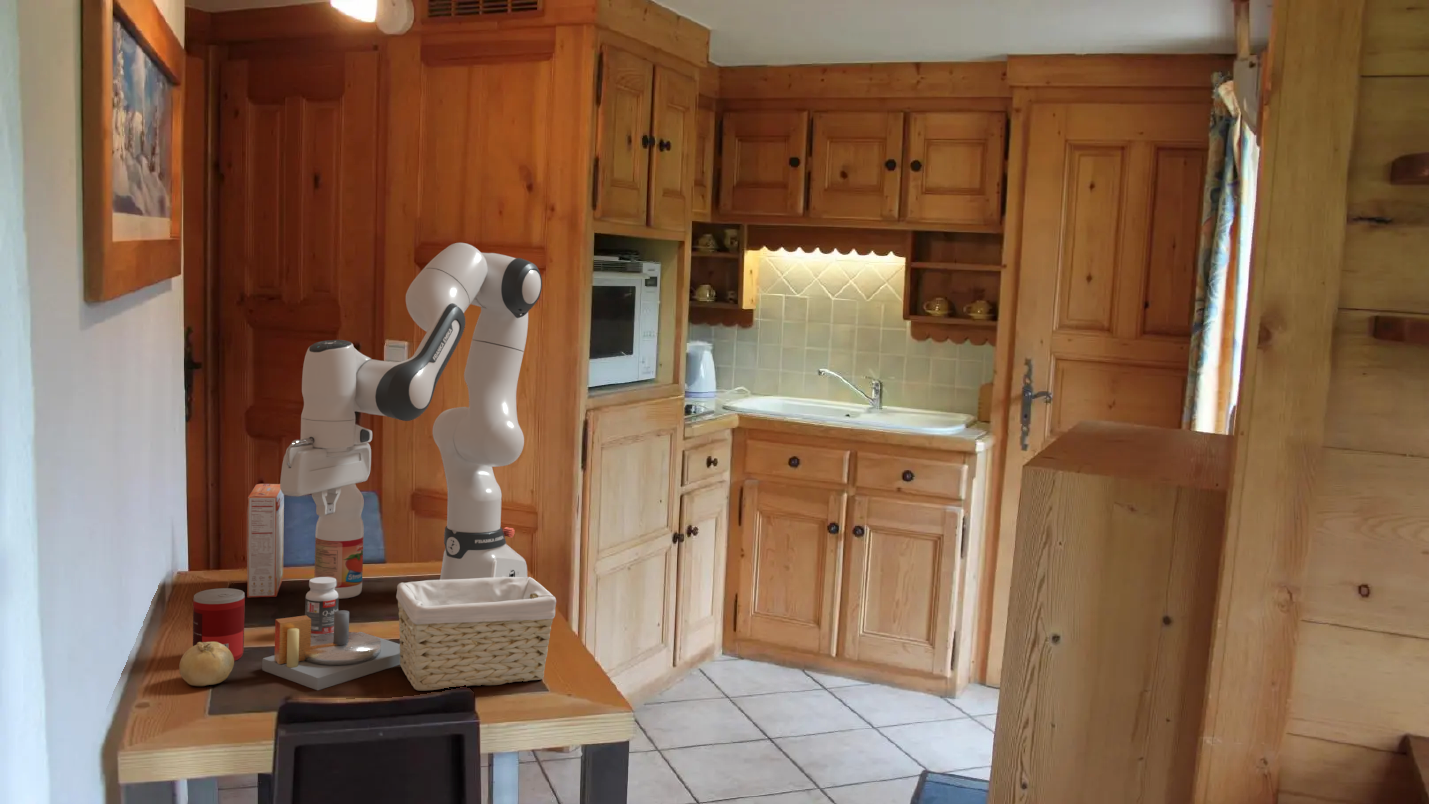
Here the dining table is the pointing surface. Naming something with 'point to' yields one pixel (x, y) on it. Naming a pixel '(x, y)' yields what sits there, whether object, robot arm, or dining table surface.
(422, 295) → the robot arm
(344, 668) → the post board
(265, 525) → the cracker box
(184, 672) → the onion
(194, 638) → the canned food
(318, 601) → the pill bottle
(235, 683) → the dining table surface
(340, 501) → the fruit juice
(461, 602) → the storage basket
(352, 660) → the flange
